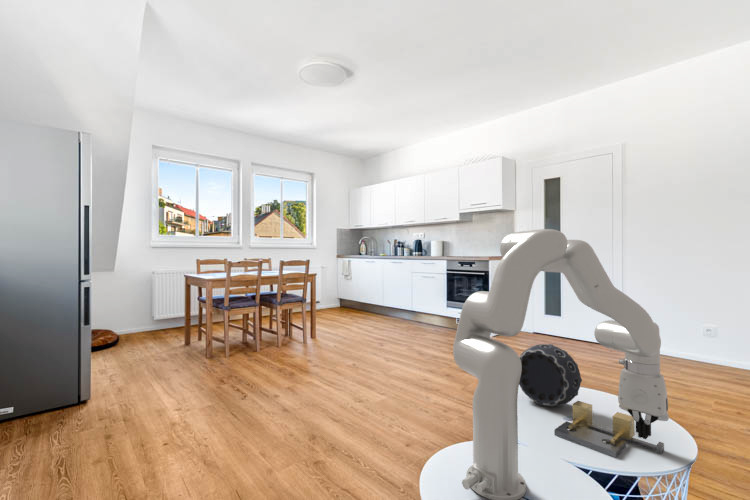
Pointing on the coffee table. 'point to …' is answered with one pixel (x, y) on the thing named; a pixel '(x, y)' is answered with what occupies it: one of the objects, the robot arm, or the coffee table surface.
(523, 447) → the coffee table surface
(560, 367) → the dark grey wheel
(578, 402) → the dividers bar
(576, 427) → the flange plate
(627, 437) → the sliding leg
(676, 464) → the coffee table surface
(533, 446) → the coffee table surface
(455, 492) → the coffee table surface
